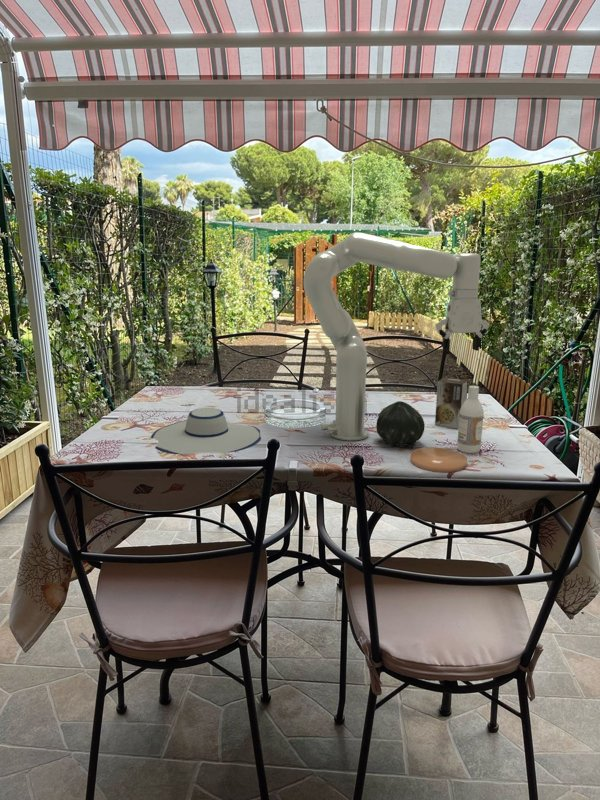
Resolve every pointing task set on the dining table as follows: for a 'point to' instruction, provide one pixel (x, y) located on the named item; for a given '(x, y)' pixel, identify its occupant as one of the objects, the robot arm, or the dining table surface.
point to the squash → (400, 424)
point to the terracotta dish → (438, 459)
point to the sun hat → (205, 434)
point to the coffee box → (450, 401)
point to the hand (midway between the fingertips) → (460, 350)
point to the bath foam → (470, 423)
